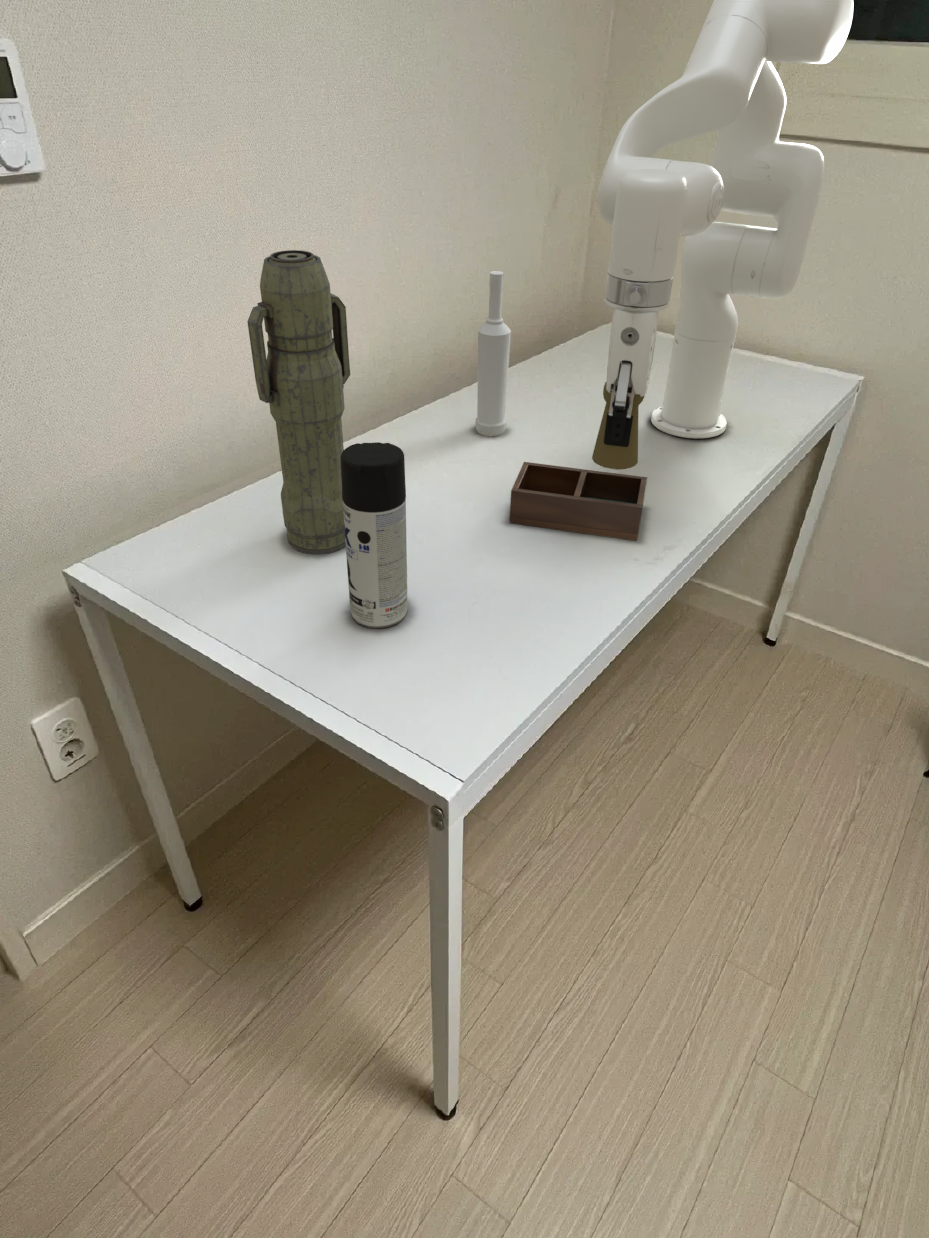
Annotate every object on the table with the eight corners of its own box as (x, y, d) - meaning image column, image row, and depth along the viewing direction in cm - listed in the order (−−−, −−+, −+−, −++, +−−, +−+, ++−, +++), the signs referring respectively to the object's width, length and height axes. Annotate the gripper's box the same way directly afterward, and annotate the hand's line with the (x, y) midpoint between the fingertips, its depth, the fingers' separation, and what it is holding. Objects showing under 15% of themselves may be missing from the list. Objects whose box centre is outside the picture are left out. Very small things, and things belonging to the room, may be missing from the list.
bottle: (503, 438, 136) (511, 278, 121) (472, 435, 136) (476, 276, 122) (508, 425, 140) (516, 269, 125) (478, 422, 140) (482, 267, 126)
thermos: (376, 531, 111) (361, 253, 90) (307, 566, 103) (273, 272, 83) (332, 509, 115) (308, 240, 94) (264, 541, 108) (221, 257, 87)
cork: (641, 453, 110) (654, 373, 104) (633, 472, 106) (646, 389, 99) (597, 446, 112) (606, 366, 105) (587, 465, 107) (596, 382, 101)
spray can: (351, 596, 98) (339, 440, 86) (408, 594, 99) (404, 439, 87) (349, 630, 93) (336, 468, 81) (410, 628, 94) (405, 467, 82)
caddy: (521, 493, 120) (523, 461, 117) (642, 509, 117) (647, 477, 114) (509, 523, 113) (511, 490, 110) (637, 541, 110) (642, 507, 107)
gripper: (666, 313, 89) (642, 468, 100) (674, 275, 102) (651, 416, 113) (597, 307, 90) (580, 461, 101) (613, 270, 103) (596, 410, 114)
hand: (618, 436), depth 107 cm, fingers closed on cork, 4 cm apart
